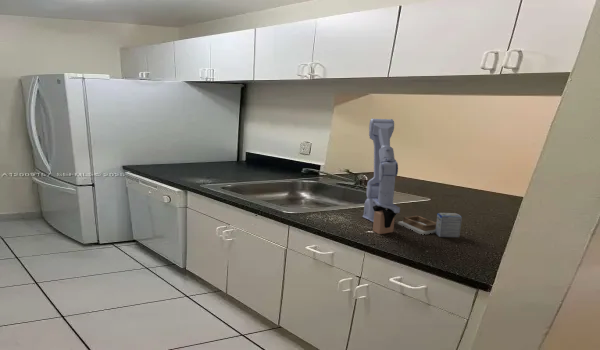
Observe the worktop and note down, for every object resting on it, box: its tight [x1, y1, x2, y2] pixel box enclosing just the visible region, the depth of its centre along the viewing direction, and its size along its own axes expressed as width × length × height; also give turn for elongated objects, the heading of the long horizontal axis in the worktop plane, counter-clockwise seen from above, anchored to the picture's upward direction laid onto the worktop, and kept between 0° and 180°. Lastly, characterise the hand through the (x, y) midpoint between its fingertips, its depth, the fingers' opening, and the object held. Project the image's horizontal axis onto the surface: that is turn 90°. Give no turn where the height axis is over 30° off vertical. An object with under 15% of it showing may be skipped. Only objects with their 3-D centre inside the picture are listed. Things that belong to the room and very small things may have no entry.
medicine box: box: [434, 212, 463, 238], centre depth 137 cm, size 8×4×9 cm, turn 92°
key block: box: [372, 211, 396, 235], centre depth 139 cm, size 4×7×8 cm, turn 116°
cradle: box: [397, 215, 437, 236], centre depth 146 cm, size 14×12×3 cm
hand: (383, 225), depth 139 cm, fingers open, 4 cm apart
